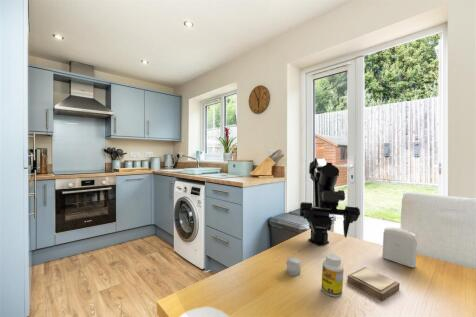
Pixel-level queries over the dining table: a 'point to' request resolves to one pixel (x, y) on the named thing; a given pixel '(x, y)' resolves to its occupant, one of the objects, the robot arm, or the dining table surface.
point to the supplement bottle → (332, 275)
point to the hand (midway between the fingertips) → (330, 235)
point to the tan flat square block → (373, 283)
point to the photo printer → (400, 246)
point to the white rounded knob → (293, 266)
